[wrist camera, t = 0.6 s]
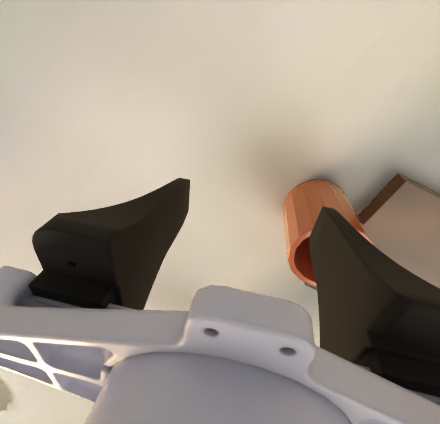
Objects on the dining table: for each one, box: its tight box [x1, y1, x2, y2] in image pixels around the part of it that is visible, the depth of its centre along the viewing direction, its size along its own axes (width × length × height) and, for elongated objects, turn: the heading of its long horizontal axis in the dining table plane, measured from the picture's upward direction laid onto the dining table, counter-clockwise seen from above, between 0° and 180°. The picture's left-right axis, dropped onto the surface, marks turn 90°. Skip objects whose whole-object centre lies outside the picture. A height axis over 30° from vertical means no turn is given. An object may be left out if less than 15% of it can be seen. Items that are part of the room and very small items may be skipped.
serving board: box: [305, 174, 440, 290], centre depth 24 cm, size 14×20×2 cm
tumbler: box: [284, 180, 375, 286], centre depth 20 cm, size 6×6×8 cm
